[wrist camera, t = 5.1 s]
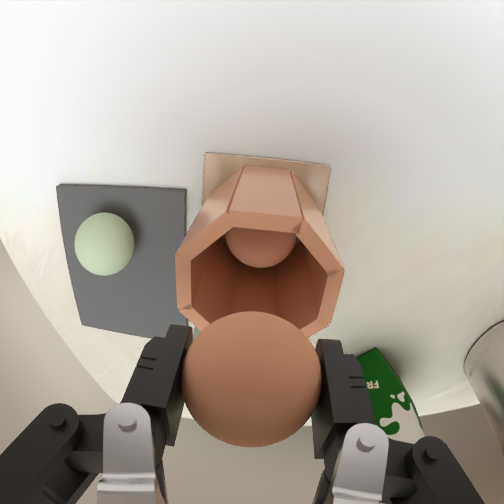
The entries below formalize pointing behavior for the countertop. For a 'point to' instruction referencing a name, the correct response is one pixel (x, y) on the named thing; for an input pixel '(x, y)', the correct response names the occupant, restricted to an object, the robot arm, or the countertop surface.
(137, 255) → the mat
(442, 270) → the countertop surface
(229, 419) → the ball rust
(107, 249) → the ball sage
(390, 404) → the milk carton
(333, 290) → the tubes
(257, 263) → the rust ball
